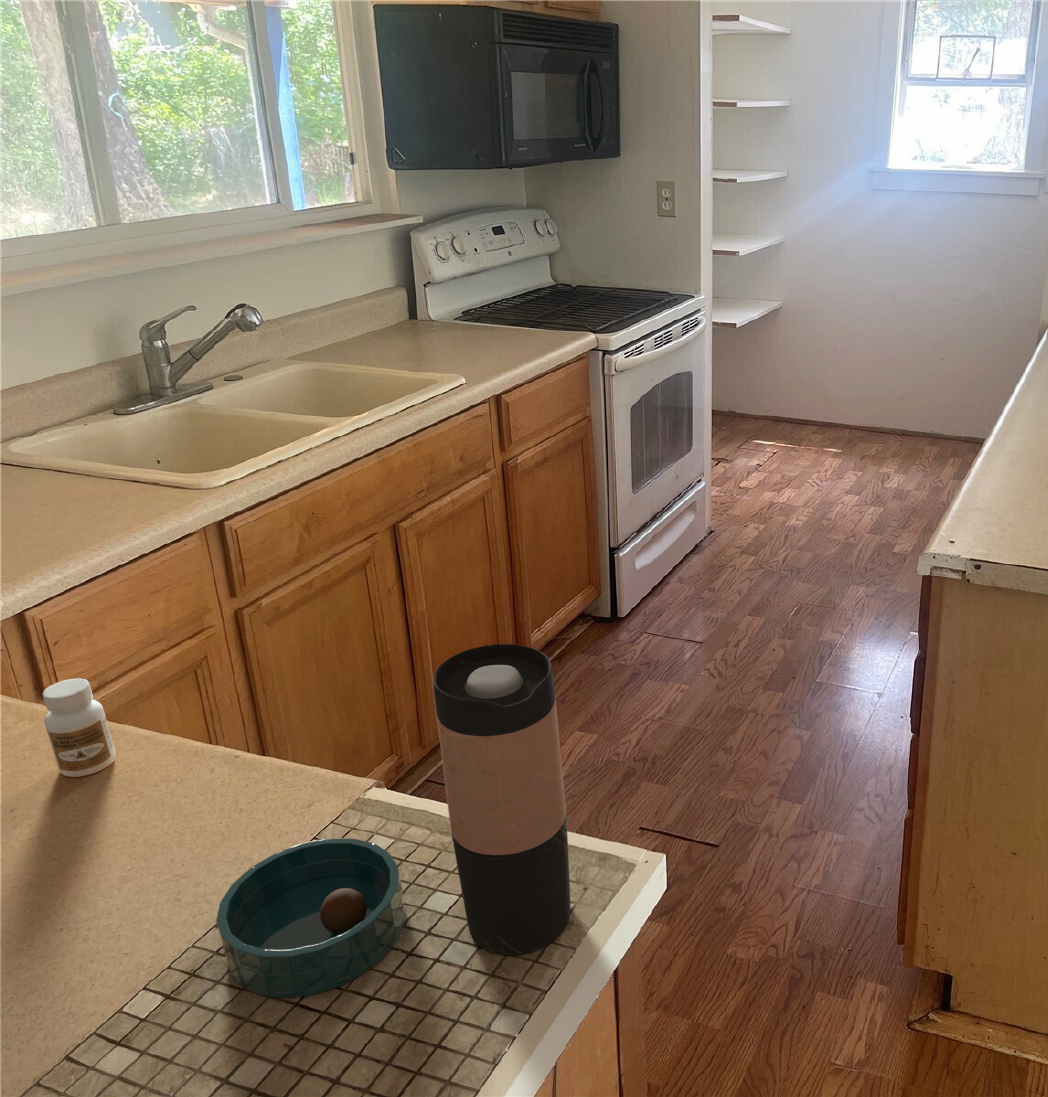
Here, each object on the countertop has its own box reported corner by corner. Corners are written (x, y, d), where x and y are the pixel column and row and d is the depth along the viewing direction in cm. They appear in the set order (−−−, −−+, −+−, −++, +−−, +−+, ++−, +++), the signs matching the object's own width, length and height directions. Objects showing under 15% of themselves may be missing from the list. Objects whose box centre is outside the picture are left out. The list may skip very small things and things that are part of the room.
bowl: (248, 1027, 64) (237, 984, 63) (212, 918, 73) (201, 879, 71) (428, 946, 70) (422, 906, 69) (375, 855, 79) (369, 818, 78)
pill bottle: (60, 784, 88) (35, 706, 85) (59, 759, 91) (35, 683, 88) (118, 768, 90) (96, 691, 87) (115, 744, 93) (94, 670, 90)
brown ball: (302, 919, 70) (327, 890, 69) (329, 900, 73) (353, 872, 72) (333, 951, 69) (358, 922, 69) (358, 930, 72) (383, 902, 72)
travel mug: (492, 875, 77) (463, 637, 69) (589, 889, 75) (571, 648, 68) (445, 950, 70) (407, 695, 62) (551, 966, 68) (526, 708, 61)
